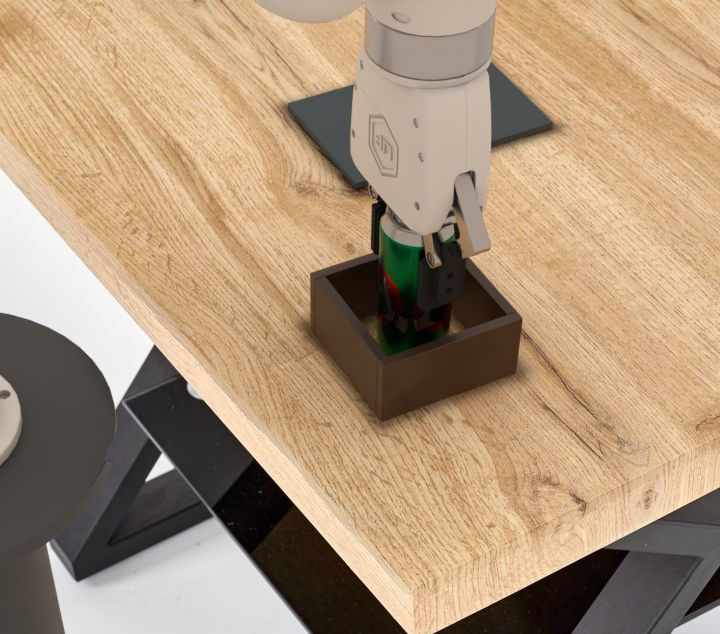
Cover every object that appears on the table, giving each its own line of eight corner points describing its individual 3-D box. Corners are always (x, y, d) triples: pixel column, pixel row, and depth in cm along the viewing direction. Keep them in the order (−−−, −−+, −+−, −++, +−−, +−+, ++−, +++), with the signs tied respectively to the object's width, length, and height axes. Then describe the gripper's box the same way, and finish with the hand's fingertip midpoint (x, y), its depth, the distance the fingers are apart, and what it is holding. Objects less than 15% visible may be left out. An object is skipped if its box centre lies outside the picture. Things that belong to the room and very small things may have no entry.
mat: (355, 189, 122) (355, 183, 121) (287, 109, 129) (287, 103, 128) (552, 128, 127) (553, 122, 127) (477, 54, 134) (477, 48, 134)
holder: (381, 422, 105) (383, 367, 101) (310, 327, 111) (309, 272, 108) (516, 373, 109) (523, 317, 105) (440, 283, 115) (444, 228, 111)
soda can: (454, 332, 111) (465, 192, 102) (441, 380, 108) (451, 240, 99) (384, 320, 112) (389, 181, 103) (368, 368, 109) (372, 228, 100)
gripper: (304, -24, 95) (307, 218, 109) (446, 125, 85) (430, 371, 99) (413, -52, 97) (403, 189, 111) (564, 90, 87) (532, 335, 101)
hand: (416, 272), depth 105 cm, fingers open, 5 cm apart
